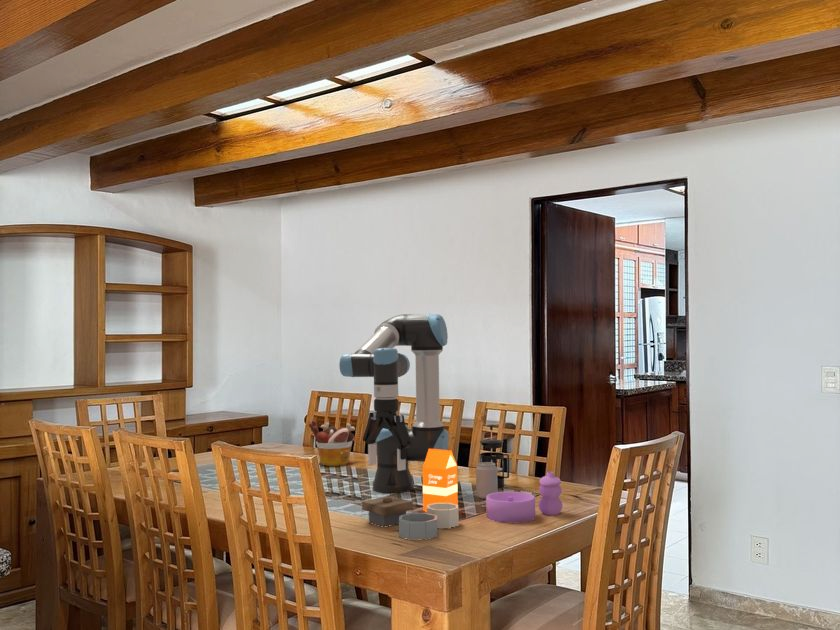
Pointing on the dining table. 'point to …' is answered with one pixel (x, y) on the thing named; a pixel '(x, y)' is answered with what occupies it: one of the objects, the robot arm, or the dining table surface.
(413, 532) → the grey bowl
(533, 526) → the dining table surface
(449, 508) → the bowl
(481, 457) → the french press
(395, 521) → the grey rectangular block
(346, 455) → the bucket of meat
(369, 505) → the lid
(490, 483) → the can
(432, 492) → the orange juice
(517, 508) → the container set
